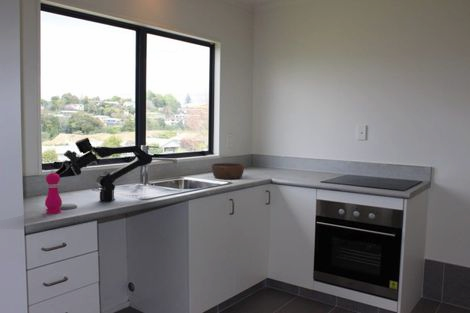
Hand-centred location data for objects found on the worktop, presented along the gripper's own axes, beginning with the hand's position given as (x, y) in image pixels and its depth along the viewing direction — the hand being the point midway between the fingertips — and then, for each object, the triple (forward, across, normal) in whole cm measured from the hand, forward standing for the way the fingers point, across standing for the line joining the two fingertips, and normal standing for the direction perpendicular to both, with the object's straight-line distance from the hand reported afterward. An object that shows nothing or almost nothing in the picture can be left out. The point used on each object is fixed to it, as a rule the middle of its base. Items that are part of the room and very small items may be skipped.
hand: (56, 175), depth 204 cm
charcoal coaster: (+4, +7, +15) cm, 17 cm away
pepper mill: (+11, +15, +12) cm, 22 cm away
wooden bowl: (-111, -42, +73) cm, 139 cm away
